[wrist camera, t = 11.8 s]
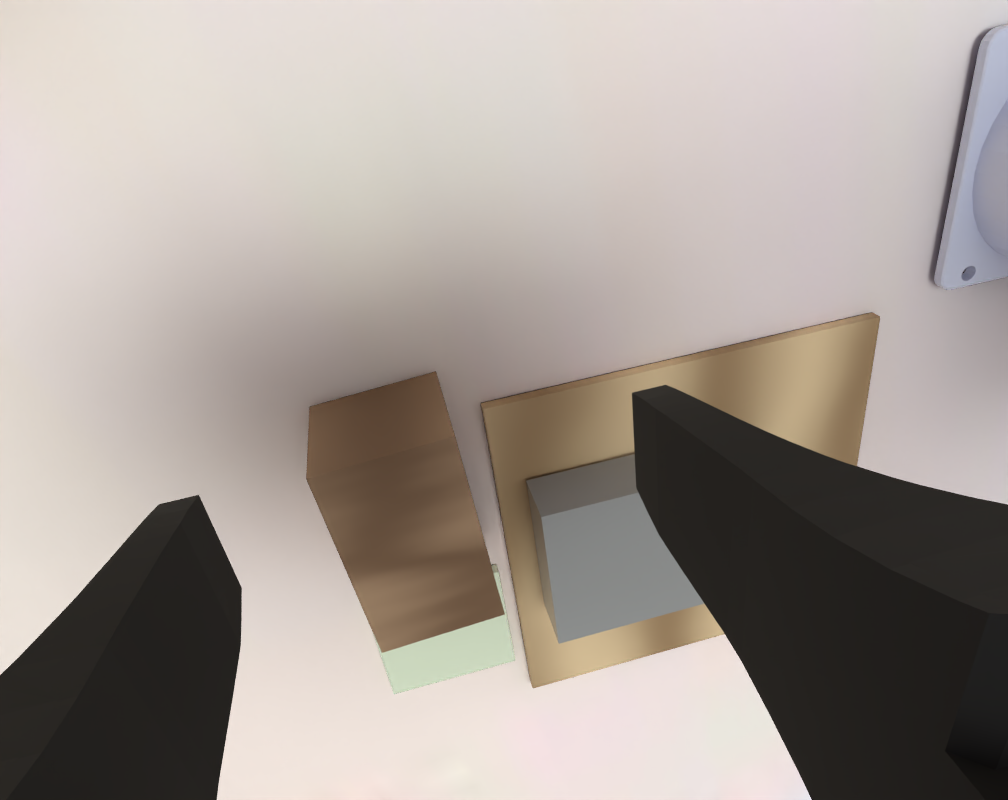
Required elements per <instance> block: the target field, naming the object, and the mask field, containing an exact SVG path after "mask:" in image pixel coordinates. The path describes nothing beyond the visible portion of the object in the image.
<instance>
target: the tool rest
mask: <svg viewBox="0 0 1008 800" xmlns="http://www.w3.org/2000/svg"><path fill="white" fill-rule="evenodd" d="M492 570H493V573H494V577H495V581H496V584H497V588H498V591H499V595H500V598H501V602H502V605H503V609H504V613H505V615H502V616H499V617H495V618H492V619H489V620H486V621H483V622H479V623H476V624H473V625H470V626H467V627H463V628H460V629H457V630H454V631H451V632H447V633H444V634H441V635H438V636H435V637H431V638H428V639H425V640H422V641H419V642H416V643H412V644H409V645H406V646H403V647H400V648H396V649H393V650H390V651H387V652H384V653H382V652H381V649H380V647H379V645H378V643H377V640H376V638H375V640H376V643H377V646H378V649H379V652H380V655H381V658H382V660H383V663H384V666H385V669H386V672H387V675H388V678H389V681H390V684H391V687H392V690H393V693H394V694H397V693H401V692H404V691H408V690H411V689H415V688H419V687H422V686H426V685H429V684H433V683H437V682H440V681H444V680H447V679H451V678H455V677H458V676H462V675H465V674H469V673H473V672H476V671H480V670H483V669H487V668H491V667H494V666H498V665H501V664H505V663H508V662H512V661H515V656H514V651H513V645H512V640H511V635H510V630H509V624H508V619H507V614H506V609H505V604H504V598H503V593H502V588H501V583H500V577H499V572H498V569H497V565H492ZM373 634H374V633H373ZM374 637H375V636H374Z"/></svg>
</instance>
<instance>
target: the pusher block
mask: <svg viewBox="0 0 1008 800" xmlns="http://www.w3.org/2000/svg"><path fill="white" fill-rule="evenodd" d="M306 479H307V482H308V484H309V486H310V489H311V491H312V493H313V495H314V498H315V500H316V502H317V505H318V507H319V509H320V512H321V514H322V516H323V518H324V521H325V523H326V525H327V528H328V530H329V532H330V535H331V537H332V539H333V541H334V544H335V546H336V548H337V551H338V553H339V555H340V558H341V560H342V562H343V564H344V567H345V569H346V571H347V574H348V576H349V578H350V580H351V583H352V585H353V587H354V590H355V592H356V594H357V597H358V599H359V601H360V603H361V606H362V608H363V610H364V613H365V615H366V617H367V620H368V622H369V624H370V626H371V629H372V631H373V633H374V636H375V638H376V640H377V643H378V645H379V647H380V649H381V652H382V653H384V652H387V651H390V650H393V649H396V648H400V647H403V646H406V645H409V644H412V643H416V642H419V641H422V640H425V639H428V638H431V637H435V636H438V635H441V634H444V633H447V632H451V631H454V630H457V629H460V628H463V627H467V626H470V625H473V624H476V623H479V622H483V621H486V620H489V619H492V618H495V617H499V616H502V615H505V613H504V609H503V605H502V602H501V598H500V595H499V591H498V588H497V584H496V581H495V577H494V573H493V570H492V566H491V563H490V559H489V556H488V552H487V549H486V545H485V541H484V538H483V534H482V531H481V527H480V524H479V520H478V517H477V513H476V509H475V506H474V502H473V499H472V495H471V492H470V488H469V485H468V481H467V477H466V474H465V470H464V467H463V463H462V460H461V456H460V452H459V449H458V445H457V442H456V438H455V435H454V431H453V428H452V425H451V421H450V418H449V414H448V411H447V408H446V404H445V401H444V398H443V394H442V391H441V387H440V384H439V381H438V377H437V374H436V372H432V373H429V374H425V375H422V376H418V377H414V378H411V379H407V380H404V381H400V382H396V383H393V384H389V385H386V386H382V387H379V388H375V389H371V390H368V391H364V392H361V393H357V394H353V395H350V396H346V397H343V398H339V399H336V400H332V401H328V402H325V403H321V404H318V405H314V406H311V407H310V409H309V431H308V453H307V474H306Z"/></svg>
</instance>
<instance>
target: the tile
mask: <svg viewBox="0 0 1008 800" xmlns="http://www.w3.org/2000/svg"><path fill="white" fill-rule="evenodd" d="M526 484H527V491H528V498H529V504H530V511H531V518H532V525H533V532H534V538H535V545H536V552H537V559H538V566H539V572H540V579H541V586H542V593H543V600H544V605H545V607H546V610H547V613H548V616H549V618H550V621H551V624H552V627H553V630H554V632H555V635H556V638H557V641H558V643H559V644H560V643H564V642H567V641H571V640H574V639H578V638H582V637H585V636H589V635H593V634H596V633H600V632H603V631H607V630H611V629H614V628H618V627H621V626H625V625H629V624H632V623H636V622H640V621H643V620H647V619H650V618H654V617H658V616H661V615H665V614H669V613H672V612H676V611H679V610H683V609H687V608H690V607H694V606H698V605H701V604H704V602H703V601H702V599H701V598H700V596H699V595H698V593H697V592H696V590H695V589H694V587H693V586H692V584H691V583H690V581H689V580H688V578H687V577H686V575H685V574H684V572H683V571H682V569H681V568H680V566H679V565H678V563H677V562H676V560H675V559H674V557H673V556H672V554H671V553H670V551H669V550H668V548H667V547H666V545H665V544H664V542H663V540H662V539H661V537H660V536H659V534H658V532H657V530H656V528H655V526H654V524H653V522H652V520H651V518H650V516H649V514H648V512H647V510H646V508H645V506H644V503H643V501H642V499H641V497H640V495H639V493H638V491H637V488H636V473H635V454H632V455H628V456H624V457H620V458H616V459H612V460H608V461H604V462H600V463H596V464H592V465H588V466H583V467H579V468H575V469H571V470H567V471H563V472H559V473H555V474H551V475H547V476H543V477H539V478H535V479H531V480H526Z"/></svg>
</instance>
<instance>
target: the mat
mask: <svg viewBox="0 0 1008 800" xmlns="http://www.w3.org/2000/svg"><path fill="white" fill-rule="evenodd" d="M879 321H880V316H878V315H876V314H874V313H868V314H864V315H859V316H855V317H851V318H846V319H842V320H838V321H834V322H829V323H825V324H821V325H816V326H812V327H808V328H803V329H799V330H795V331H790V332H786V333H782V334H777V335H773V336H769V337H765V338H760V339H756V340H752V341H747V342H743V343H739V344H734V345H730V346H726V347H721V348H717V349H713V350H708V351H704V352H700V353H696V354H691V355H687V356H683V357H678V358H674V359H670V360H665V361H661V362H657V363H652V364H648V365H644V366H639V367H635V368H631V369H627V370H622V371H618V372H614V373H609V374H605V375H601V376H596V377H592V378H588V379H583V380H579V381H575V382H571V383H566V384H562V385H558V386H553V387H549V388H545V389H540V390H536V391H532V392H527V393H523V394H519V395H514V396H510V397H506V398H502V399H497V400H493V401H489V402H484V403H481V407H482V412H483V418H484V424H485V429H486V435H487V440H488V446H489V451H490V457H491V463H492V468H493V474H494V479H495V485H496V491H497V496H498V502H499V507H500V513H501V519H502V524H503V530H504V535H505V541H506V547H507V552H508V558H509V563H510V569H511V575H512V580H513V586H514V591H515V597H516V602H517V608H518V614H519V619H520V625H521V630H522V636H523V642H524V647H525V653H526V658H527V664H528V670H529V675H530V681H531V684H532V687H533V688H536V687H540V686H543V685H547V684H550V683H554V682H557V681H561V680H564V679H568V678H571V677H575V676H578V675H582V674H586V673H589V672H593V671H596V670H600V669H603V668H607V667H610V666H614V665H617V664H621V663H624V662H628V661H631V660H635V659H638V658H642V657H645V656H649V655H652V654H656V653H659V652H663V651H666V650H670V649H673V648H677V647H681V646H684V645H688V644H691V643H695V642H698V641H702V640H705V639H709V638H712V637H716V636H719V635H723V634H724V632H723V631H722V629H721V628H720V626H719V625H718V623H717V622H716V620H715V619H714V617H713V616H712V614H711V613H710V611H709V610H708V608H707V607H706V605H705V604H701V605H698V606H694V607H690V608H687V609H683V610H679V611H676V612H672V613H669V614H665V615H661V616H658V617H654V618H650V619H647V620H643V621H640V622H636V623H632V624H629V625H625V626H621V627H618V628H614V629H611V630H607V631H603V632H600V633H596V634H593V635H589V636H585V637H582V638H578V639H574V640H571V641H567V642H564V643H560V644H559V643H558V641H557V638H556V635H555V632H554V630H553V627H552V624H551V621H550V618H549V616H548V613H547V610H546V607H545V605H544V600H543V593H542V586H541V579H540V572H539V566H538V559H537V552H536V545H535V538H534V532H533V525H532V518H531V511H530V504H529V498H528V491H527V484H526V480H531V479H535V478H539V477H543V476H547V475H551V474H555V473H559V472H563V471H567V470H571V469H575V468H579V467H583V466H588V465H592V464H596V463H600V462H604V461H608V460H612V459H616V458H620V457H624V456H628V455H632V454H635V452H634V431H633V409H632V393H633V392H637V391H641V390H645V389H650V388H654V387H658V386H662V385H668V386H670V387H673V388H675V389H677V390H680V391H682V392H684V393H686V394H688V395H690V396H692V397H695V398H697V399H699V400H701V401H703V402H705V403H707V404H709V405H711V406H713V407H715V408H717V409H719V410H722V411H724V412H726V413H728V414H730V415H732V416H734V417H736V418H738V419H740V420H743V421H745V422H747V423H749V424H751V425H753V426H756V427H758V428H760V429H762V430H764V431H767V432H769V433H771V434H774V435H776V436H778V437H781V438H783V439H785V440H788V441H790V442H792V443H795V444H798V445H800V446H803V447H805V448H808V449H810V450H813V451H815V452H818V453H820V454H823V455H825V456H828V457H831V458H834V459H836V460H839V461H842V462H845V463H848V464H851V465H854V466H857V461H858V455H859V449H860V442H861V436H862V429H863V423H864V417H865V410H866V404H867V398H868V391H869V385H870V379H871V372H872V366H873V359H874V353H875V347H876V340H877V334H878V328H879Z"/></svg>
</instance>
